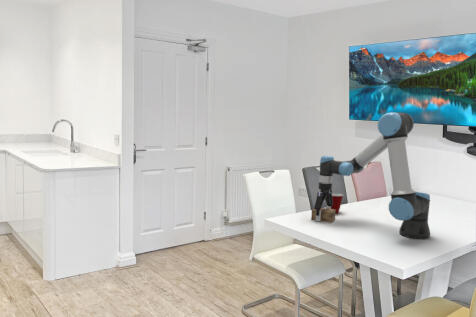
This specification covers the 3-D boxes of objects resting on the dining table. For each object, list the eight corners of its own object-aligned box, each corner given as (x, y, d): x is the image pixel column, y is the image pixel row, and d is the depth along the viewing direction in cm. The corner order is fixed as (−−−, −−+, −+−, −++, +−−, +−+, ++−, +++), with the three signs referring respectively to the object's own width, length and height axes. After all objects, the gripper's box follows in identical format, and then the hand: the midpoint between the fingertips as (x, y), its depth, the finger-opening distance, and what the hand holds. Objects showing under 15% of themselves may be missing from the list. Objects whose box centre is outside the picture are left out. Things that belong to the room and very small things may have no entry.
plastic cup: (341, 211, 282) (342, 192, 280) (343, 215, 271) (345, 196, 270) (324, 210, 283) (325, 191, 282) (325, 214, 272) (326, 195, 271)
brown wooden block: (335, 219, 261) (335, 209, 260) (331, 223, 253) (332, 212, 252) (315, 216, 266) (315, 206, 265) (311, 220, 258) (311, 210, 257)
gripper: (329, 179, 269) (326, 214, 271) (309, 184, 250) (307, 221, 252) (340, 181, 264) (338, 216, 267) (321, 186, 245) (319, 224, 248)
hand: (323, 219), depth 260 cm, fingers open, 12 cm apart
